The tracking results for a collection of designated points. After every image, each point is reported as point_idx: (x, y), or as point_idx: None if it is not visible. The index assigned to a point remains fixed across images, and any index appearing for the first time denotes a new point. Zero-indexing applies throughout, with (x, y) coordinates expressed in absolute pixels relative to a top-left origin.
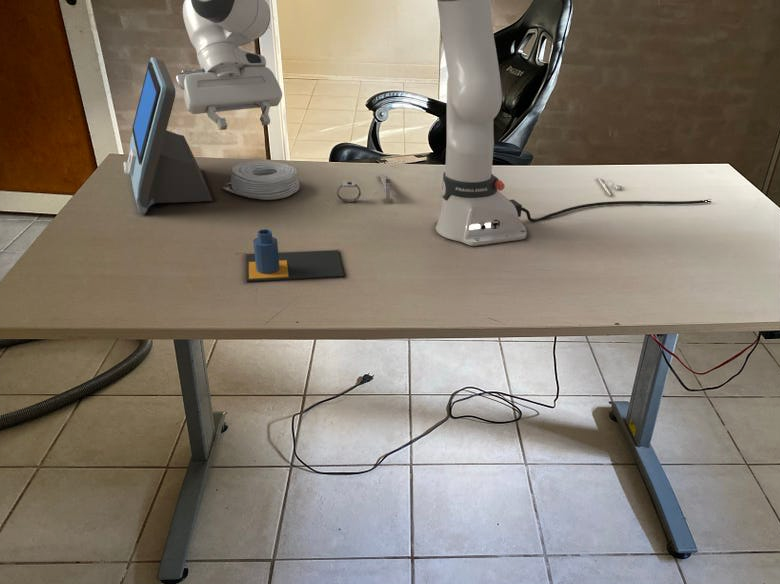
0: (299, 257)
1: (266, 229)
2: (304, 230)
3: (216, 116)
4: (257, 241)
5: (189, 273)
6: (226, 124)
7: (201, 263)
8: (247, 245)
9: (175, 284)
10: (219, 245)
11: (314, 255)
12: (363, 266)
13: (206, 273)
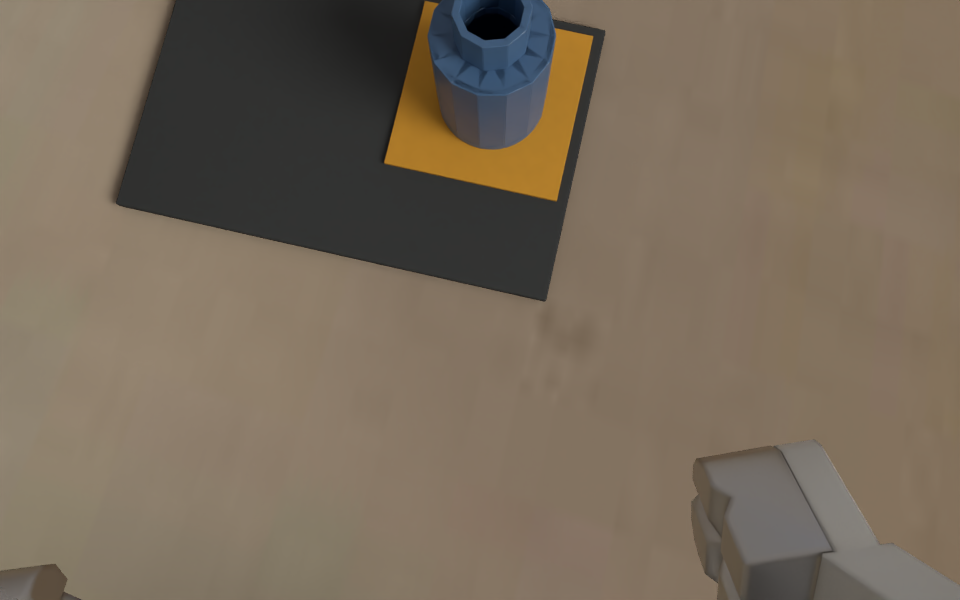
0: (317, 182)
1: (473, 39)
2: (181, 522)
3: (918, 575)
4: (533, 40)
5: (829, 199)
6: (712, 463)
7: (763, 287)
8: (514, 423)
9: (898, 112)
10: (648, 469)
11: (243, 180)
12: (71, 21)
13: (756, 175)
